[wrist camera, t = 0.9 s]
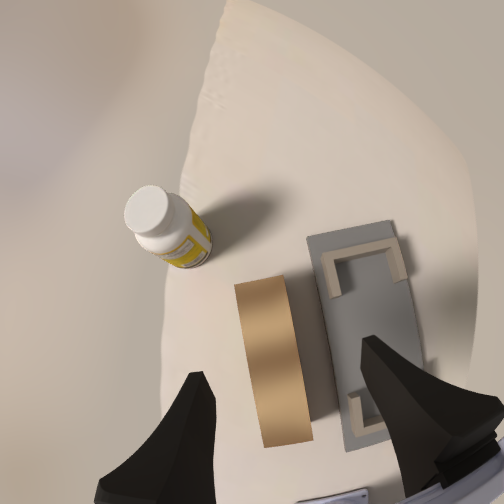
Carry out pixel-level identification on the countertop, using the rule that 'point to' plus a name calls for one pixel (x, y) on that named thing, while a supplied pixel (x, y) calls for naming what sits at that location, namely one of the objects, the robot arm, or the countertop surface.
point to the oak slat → (273, 362)
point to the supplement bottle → (168, 227)
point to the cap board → (363, 316)
